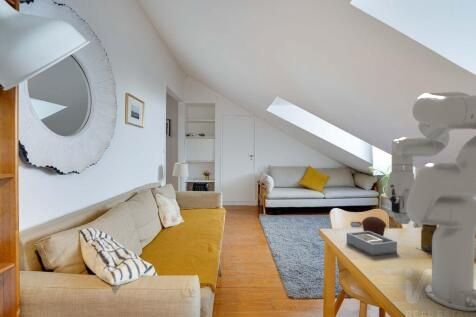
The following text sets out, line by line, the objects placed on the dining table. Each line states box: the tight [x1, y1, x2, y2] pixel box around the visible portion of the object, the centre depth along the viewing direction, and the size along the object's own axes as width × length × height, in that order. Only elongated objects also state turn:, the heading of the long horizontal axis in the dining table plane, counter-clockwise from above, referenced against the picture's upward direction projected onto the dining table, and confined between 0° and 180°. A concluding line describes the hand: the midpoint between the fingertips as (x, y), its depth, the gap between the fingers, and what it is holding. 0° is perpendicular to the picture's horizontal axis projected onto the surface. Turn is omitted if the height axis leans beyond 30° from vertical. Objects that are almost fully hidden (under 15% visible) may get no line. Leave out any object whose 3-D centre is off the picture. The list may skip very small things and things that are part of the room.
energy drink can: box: [392, 189, 411, 225], centre depth 105 cm, size 6×6×15 cm
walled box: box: [346, 230, 398, 257], centre depth 116 cm, size 16×13×5 cm
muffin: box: [361, 216, 387, 237], centre depth 132 cm, size 12×11×10 cm
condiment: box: [415, 224, 438, 255], centre depth 113 cm, size 7×8×12 cm
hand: (401, 211), depth 105 cm, fingers closed on energy drink can, 6 cm apart
